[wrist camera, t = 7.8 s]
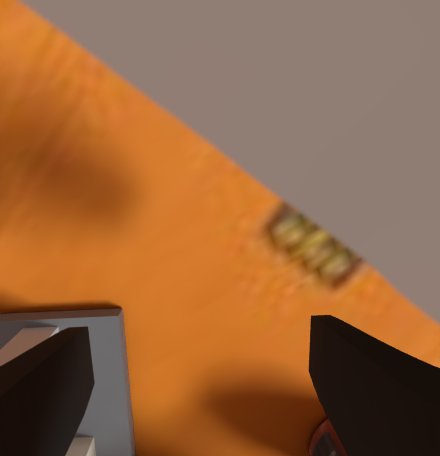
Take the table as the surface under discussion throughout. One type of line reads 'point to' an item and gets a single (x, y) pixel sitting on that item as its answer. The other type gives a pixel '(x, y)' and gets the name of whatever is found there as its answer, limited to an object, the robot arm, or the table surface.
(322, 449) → the supplement bottle
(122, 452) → the gray plate with post
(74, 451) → the birch block
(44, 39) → the table surface
